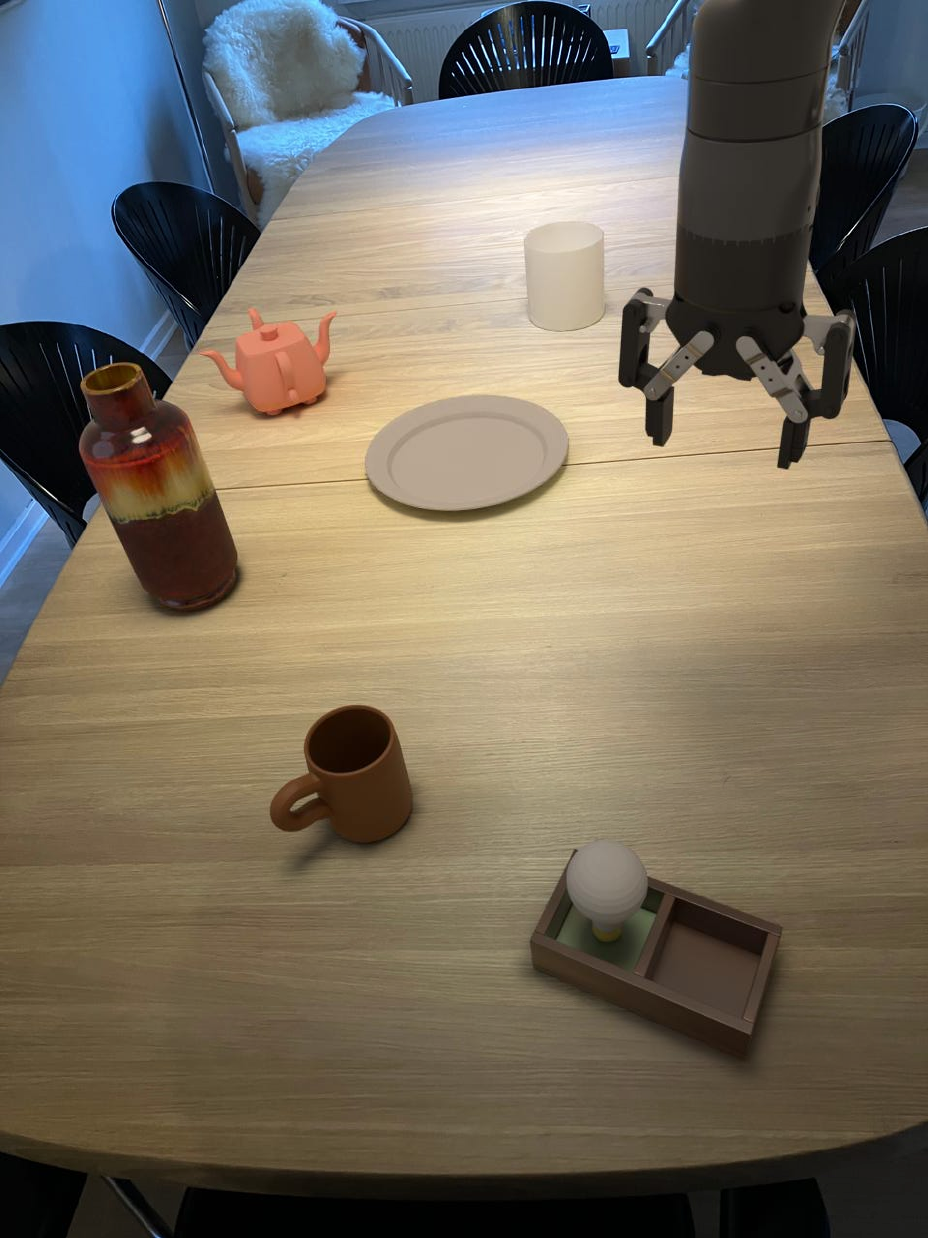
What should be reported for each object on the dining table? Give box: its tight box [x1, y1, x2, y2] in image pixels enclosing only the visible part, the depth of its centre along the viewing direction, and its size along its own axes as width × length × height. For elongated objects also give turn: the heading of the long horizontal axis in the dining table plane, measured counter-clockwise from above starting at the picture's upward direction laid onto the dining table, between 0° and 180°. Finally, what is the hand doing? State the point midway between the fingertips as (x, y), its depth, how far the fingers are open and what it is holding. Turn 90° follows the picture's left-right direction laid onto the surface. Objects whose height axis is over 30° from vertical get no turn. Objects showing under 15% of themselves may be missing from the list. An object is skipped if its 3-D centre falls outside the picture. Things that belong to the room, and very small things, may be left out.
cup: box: [523, 220, 606, 332], centre depth 139 cm, size 12×12×12 cm
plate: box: [364, 394, 570, 511], centre depth 116 cm, size 26×26×2 cm
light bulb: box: [567, 838, 648, 942], centre depth 64 cm, size 6×6×10 cm
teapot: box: [198, 307, 338, 416], centre depth 130 cm, size 14×14×11 cm
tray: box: [529, 848, 784, 1061], centre depth 65 cm, size 8×15×4 cm, turn 62°
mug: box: [269, 704, 413, 843], centre depth 75 cm, size 12×8×9 cm, turn 134°
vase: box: [78, 362, 238, 613], centre depth 95 cm, size 11×11×26 cm
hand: (722, 451), depth 63 cm, fingers open, 8 cm apart
